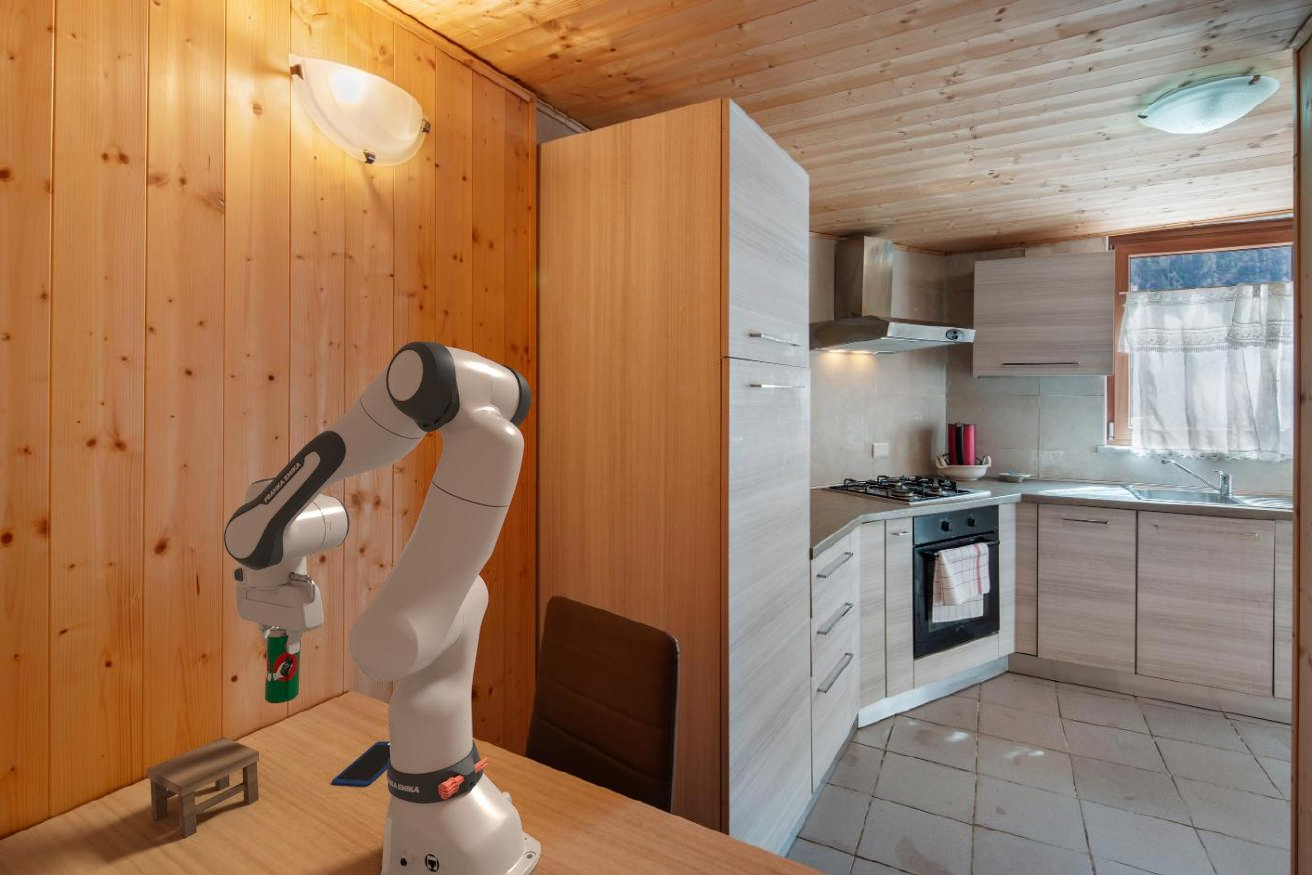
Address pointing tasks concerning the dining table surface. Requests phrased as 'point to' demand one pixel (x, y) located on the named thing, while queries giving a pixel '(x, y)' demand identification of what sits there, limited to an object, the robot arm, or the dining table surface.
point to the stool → (202, 779)
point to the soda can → (281, 669)
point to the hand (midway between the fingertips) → (281, 649)
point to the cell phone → (365, 767)
